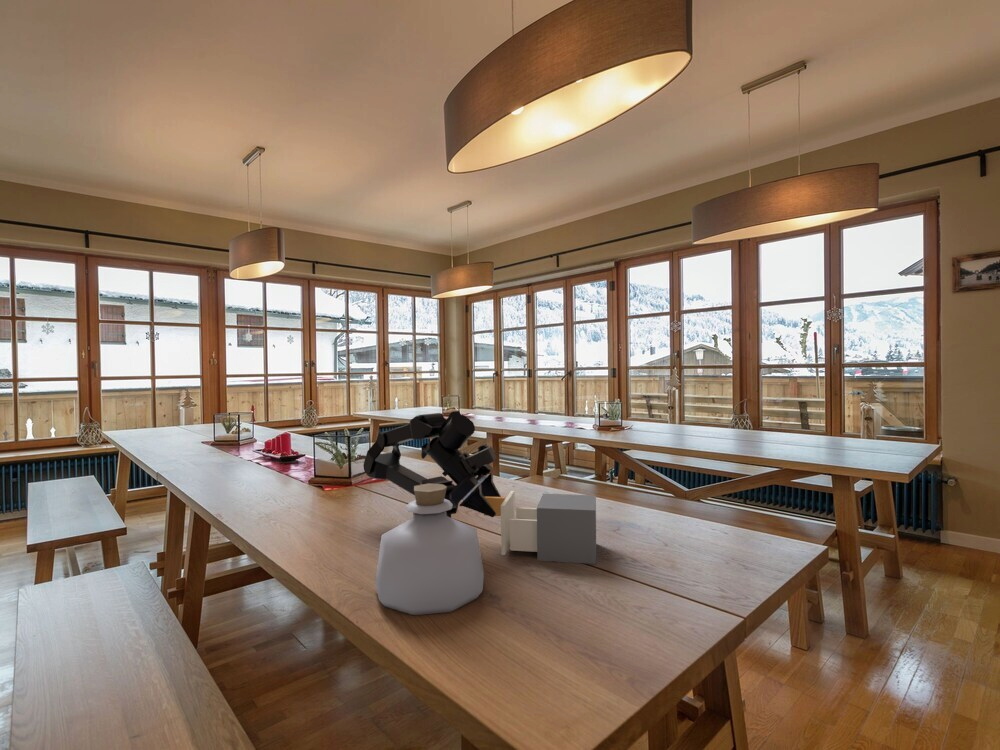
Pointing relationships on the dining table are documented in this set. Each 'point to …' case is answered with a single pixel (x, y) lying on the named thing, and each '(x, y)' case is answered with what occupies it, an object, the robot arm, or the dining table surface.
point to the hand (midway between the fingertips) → (498, 509)
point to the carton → (566, 528)
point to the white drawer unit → (515, 524)
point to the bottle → (429, 558)
